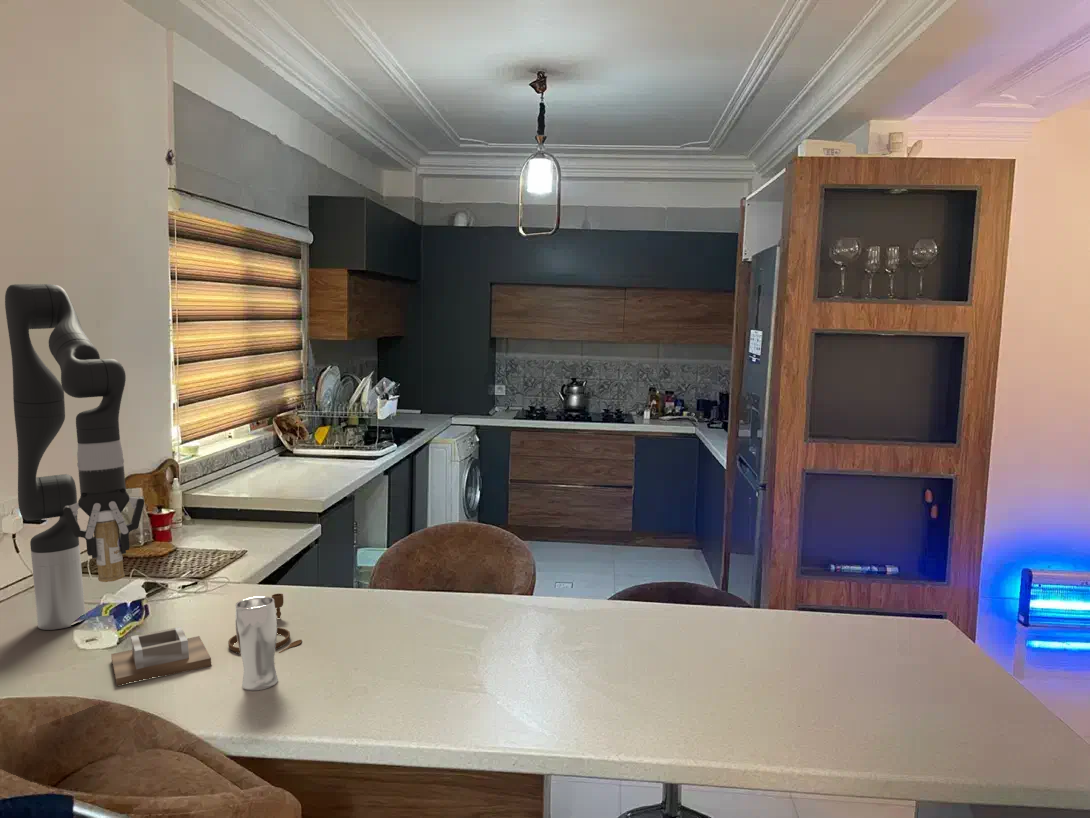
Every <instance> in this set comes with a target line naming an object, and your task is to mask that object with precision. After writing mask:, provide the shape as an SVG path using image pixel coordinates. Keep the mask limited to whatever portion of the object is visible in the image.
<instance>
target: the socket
mask: <svg viewBox="0 0 1090 818" xmlns="http://www.w3.org/2000/svg"><path fill="white" fill-rule="evenodd" d="M130 638H131V639H130V640H131V649H129V650H124V651H119V652H115V653H111V654H110V655H111V665H112V664H113V665H112V669H114V670H113V673H114V674H115V675H114V680H115V679H116V680H115V683H116V684H117V685H116V687H117V686H118V685H122V684H126V683H129V682H134V681H139V680H143V679H149V678H152V677H158V676H163V677H166V676H165V675H167V676H172V675H176V674H179V673H185V672H190V671H194V670H198V669H204V668H207V667H212V657H211V656H210V654H209V652H208V650H207V648H206V646H205V644H204V643H203V641H202V639H201V637H200V636H199V635H198V636H192V637H187V635H186V634H185V632H184V630H183V628H182V626H178V627H177V626H176V627H173V628H167V629H163V630H157V631H152V632H148V633H147V632H146V633H142V634H138V635H131V636H130ZM158 678H159V677H158ZM149 680H150V679H149ZM122 686H123V685H122ZM118 687H119V686H118Z"/></svg>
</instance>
